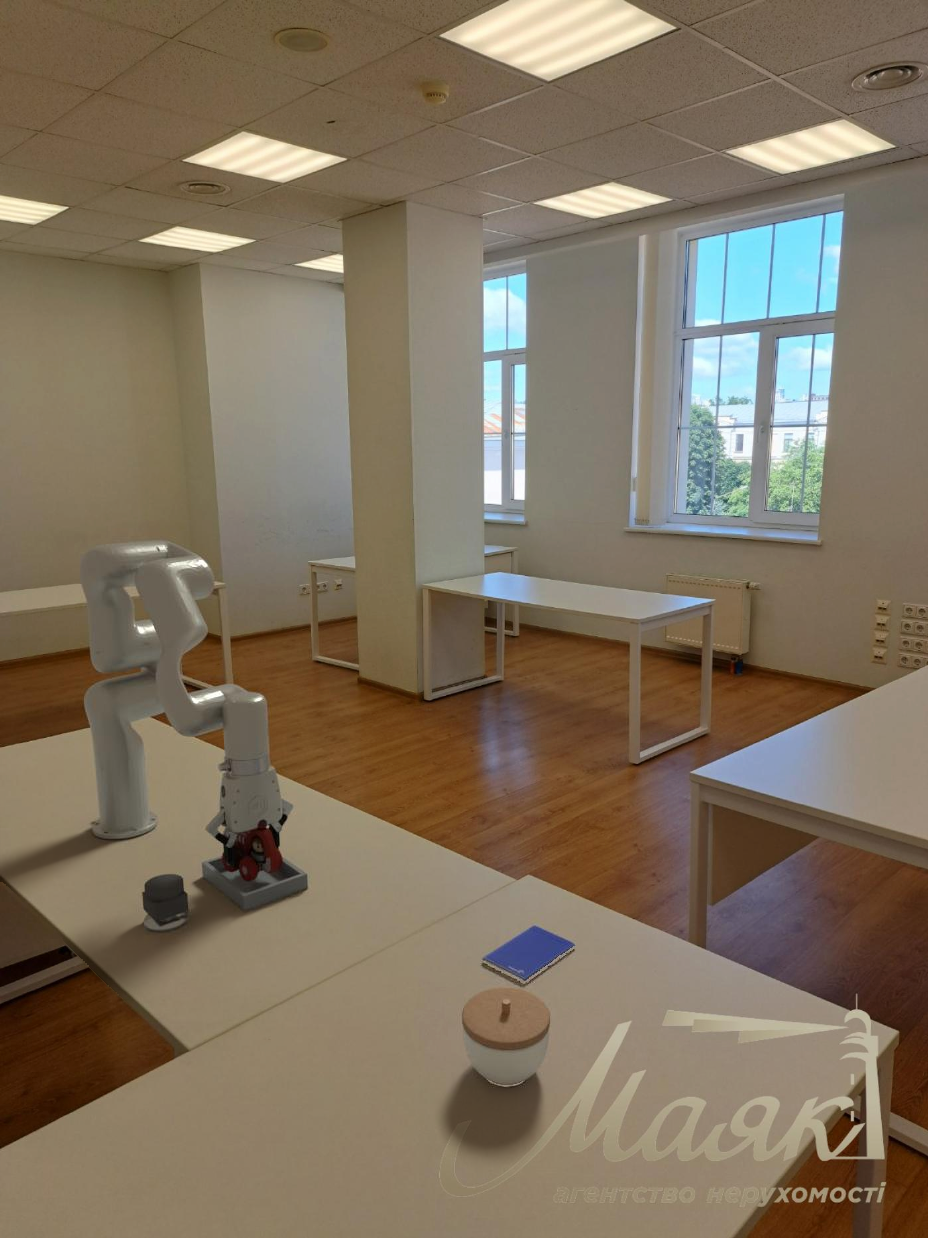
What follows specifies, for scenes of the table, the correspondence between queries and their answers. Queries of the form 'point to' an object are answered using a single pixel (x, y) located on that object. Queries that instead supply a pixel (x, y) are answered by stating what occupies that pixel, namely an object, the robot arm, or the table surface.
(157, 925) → the silver flared round stand
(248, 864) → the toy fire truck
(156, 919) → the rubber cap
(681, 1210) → the table surface
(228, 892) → the grey shallow rectangular tray
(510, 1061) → the lidded jar
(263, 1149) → the table surface
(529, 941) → the hard drive
